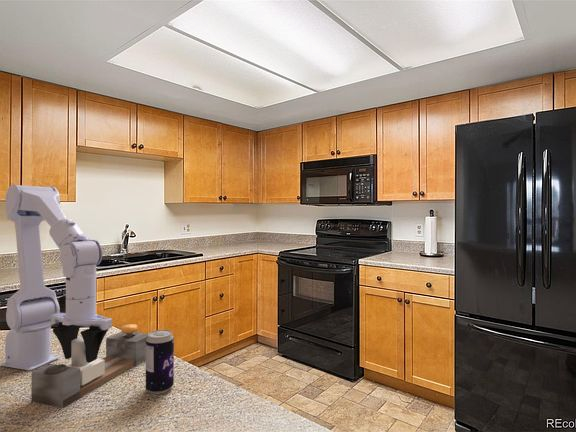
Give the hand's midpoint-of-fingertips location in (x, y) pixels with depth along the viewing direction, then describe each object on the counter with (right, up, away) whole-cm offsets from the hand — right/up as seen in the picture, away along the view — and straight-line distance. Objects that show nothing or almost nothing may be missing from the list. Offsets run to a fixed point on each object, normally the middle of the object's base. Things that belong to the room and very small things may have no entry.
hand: (80, 359), depth 78 cm
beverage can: (+17, -6, -1) cm, 18 cm away
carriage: (0, -4, 0) cm, 4 cm away
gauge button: (+4, 0, +14) cm, 15 cm away
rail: (+1, -6, +4) cm, 7 cm away
